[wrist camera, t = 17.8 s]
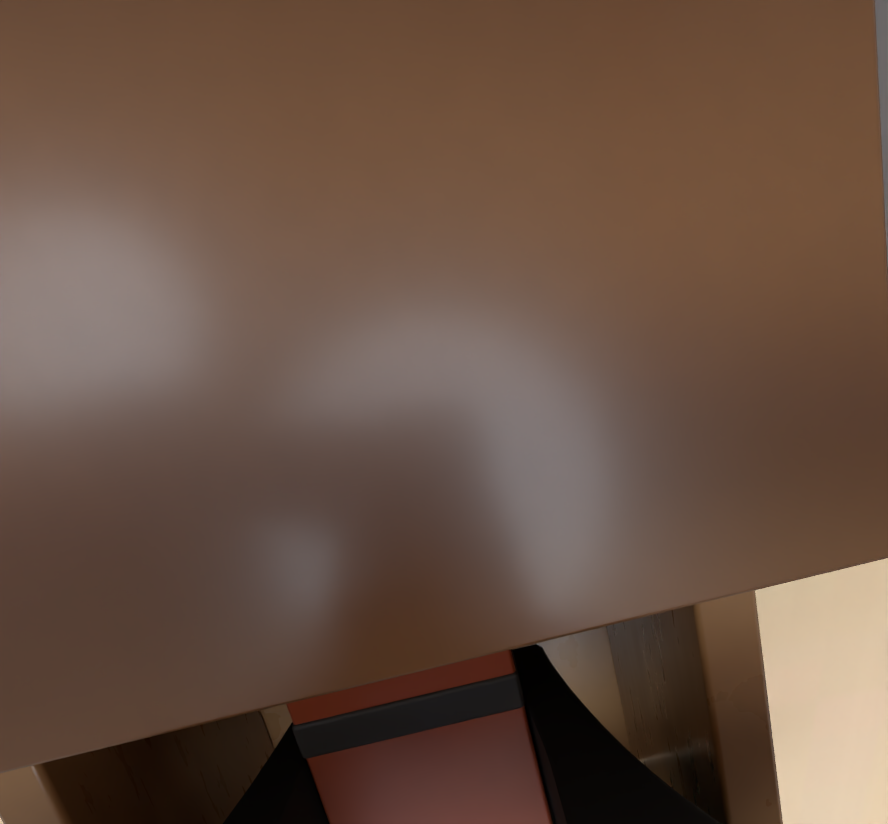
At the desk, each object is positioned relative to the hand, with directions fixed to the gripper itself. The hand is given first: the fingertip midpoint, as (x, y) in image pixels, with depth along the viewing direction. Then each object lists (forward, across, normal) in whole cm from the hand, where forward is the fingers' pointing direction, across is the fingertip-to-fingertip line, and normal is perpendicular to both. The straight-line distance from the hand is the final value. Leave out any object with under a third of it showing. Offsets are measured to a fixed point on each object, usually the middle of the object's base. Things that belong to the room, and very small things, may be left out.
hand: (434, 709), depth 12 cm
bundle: (+1, 0, 0) cm, 1 cm away
